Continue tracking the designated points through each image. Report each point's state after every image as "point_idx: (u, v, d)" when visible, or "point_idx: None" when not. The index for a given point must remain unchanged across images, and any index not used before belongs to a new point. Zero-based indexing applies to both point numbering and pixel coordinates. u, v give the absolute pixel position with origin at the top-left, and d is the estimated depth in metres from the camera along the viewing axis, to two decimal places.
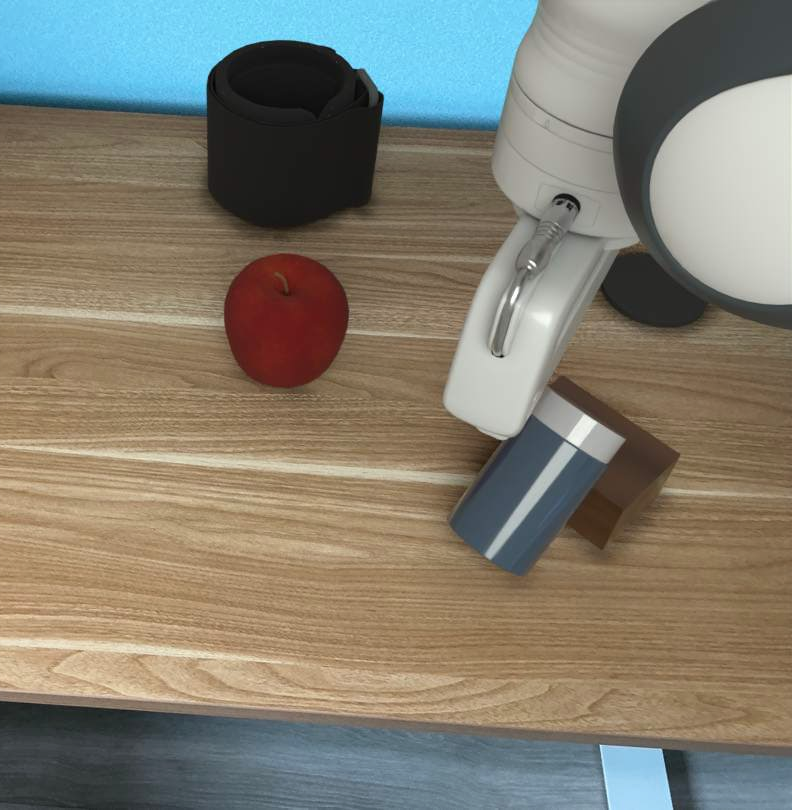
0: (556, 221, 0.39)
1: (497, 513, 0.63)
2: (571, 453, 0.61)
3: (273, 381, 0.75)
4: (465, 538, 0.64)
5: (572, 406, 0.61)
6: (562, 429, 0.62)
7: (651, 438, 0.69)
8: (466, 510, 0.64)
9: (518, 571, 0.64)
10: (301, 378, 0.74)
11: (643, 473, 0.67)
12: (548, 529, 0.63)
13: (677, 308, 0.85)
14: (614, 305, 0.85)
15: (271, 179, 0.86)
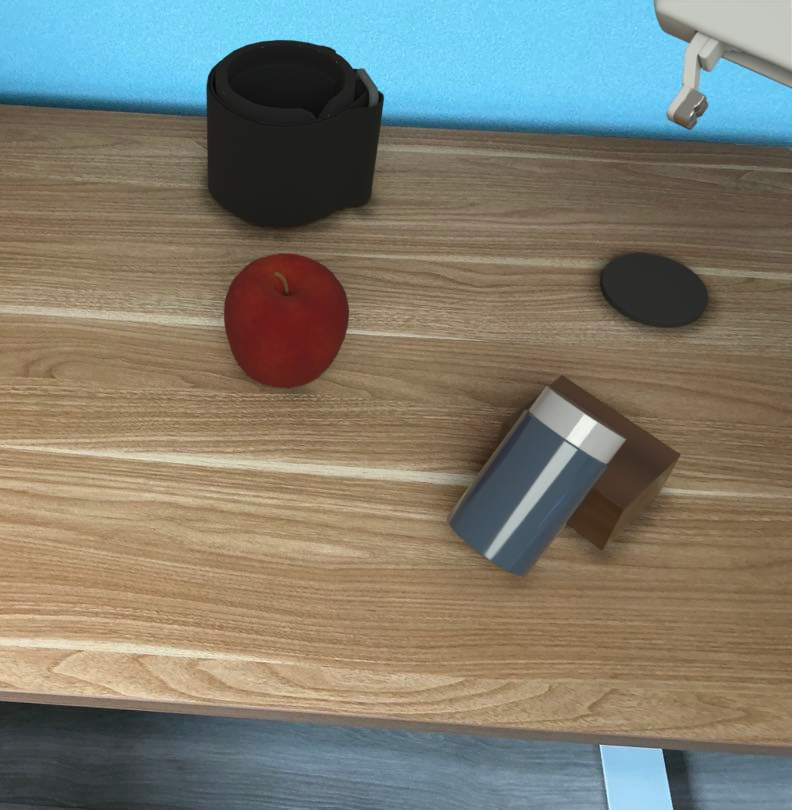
0: None
1: (497, 513, 0.63)
2: (571, 453, 0.61)
3: (273, 381, 0.75)
4: (465, 538, 0.64)
5: (572, 406, 0.61)
6: (562, 429, 0.62)
7: (651, 438, 0.69)
8: (466, 510, 0.64)
9: (518, 571, 0.64)
10: (302, 378, 0.74)
11: (643, 473, 0.67)
12: (548, 529, 0.63)
13: (677, 308, 0.85)
14: (614, 305, 0.85)
15: (271, 179, 0.86)
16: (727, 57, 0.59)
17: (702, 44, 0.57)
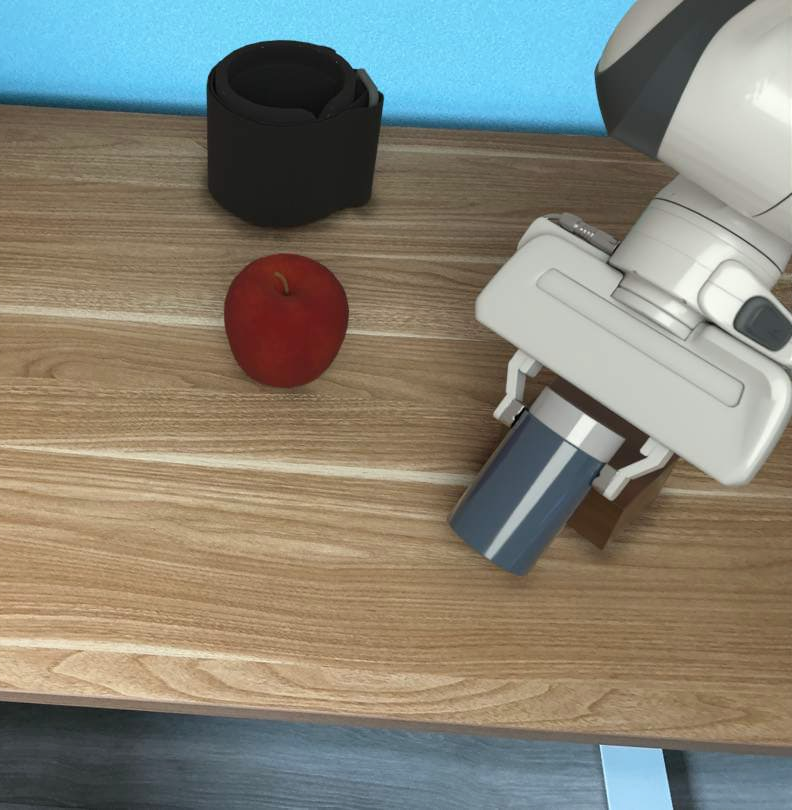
0: (601, 231, 0.64)
1: (497, 513, 0.63)
2: (570, 452, 0.61)
3: (273, 381, 0.75)
4: (465, 538, 0.64)
5: (572, 406, 0.61)
6: (562, 429, 0.62)
7: None
8: (466, 510, 0.64)
9: (518, 571, 0.64)
10: (302, 378, 0.74)
11: None
12: (547, 528, 0.63)
13: None
14: None
15: (271, 179, 0.86)
16: None
17: (522, 360, 0.65)
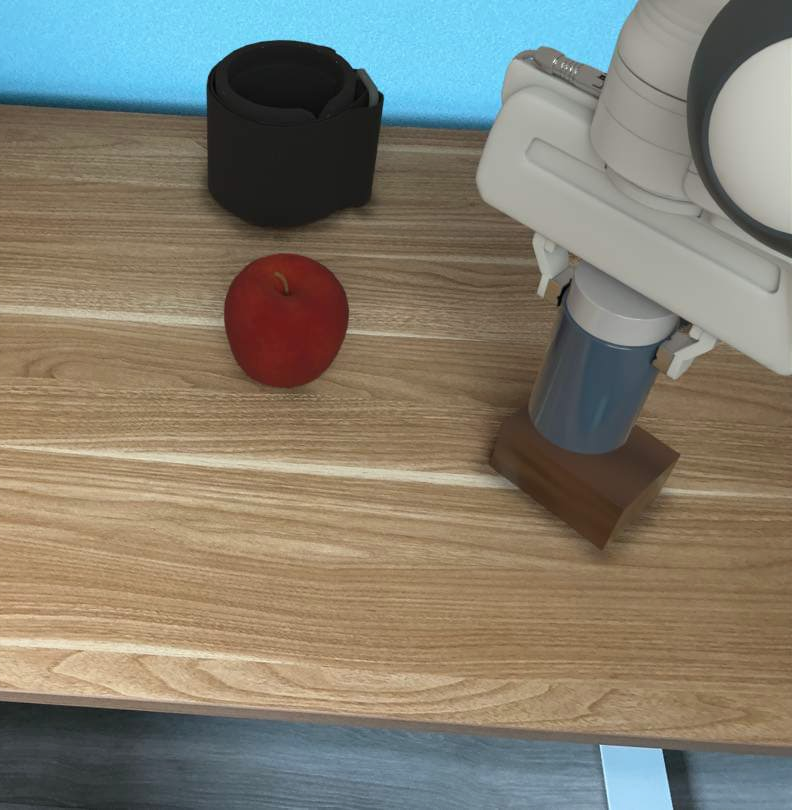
0: (584, 66, 0.49)
1: (561, 411, 0.59)
2: (610, 352, 0.54)
3: (273, 381, 0.75)
4: (542, 432, 0.61)
5: (596, 305, 0.53)
6: (594, 330, 0.54)
7: (651, 438, 0.69)
8: (536, 404, 0.61)
9: (608, 449, 0.60)
10: (302, 378, 0.74)
11: (643, 473, 0.67)
12: (621, 413, 0.57)
13: None
14: None
15: (271, 179, 0.86)
16: None
17: (544, 239, 0.55)
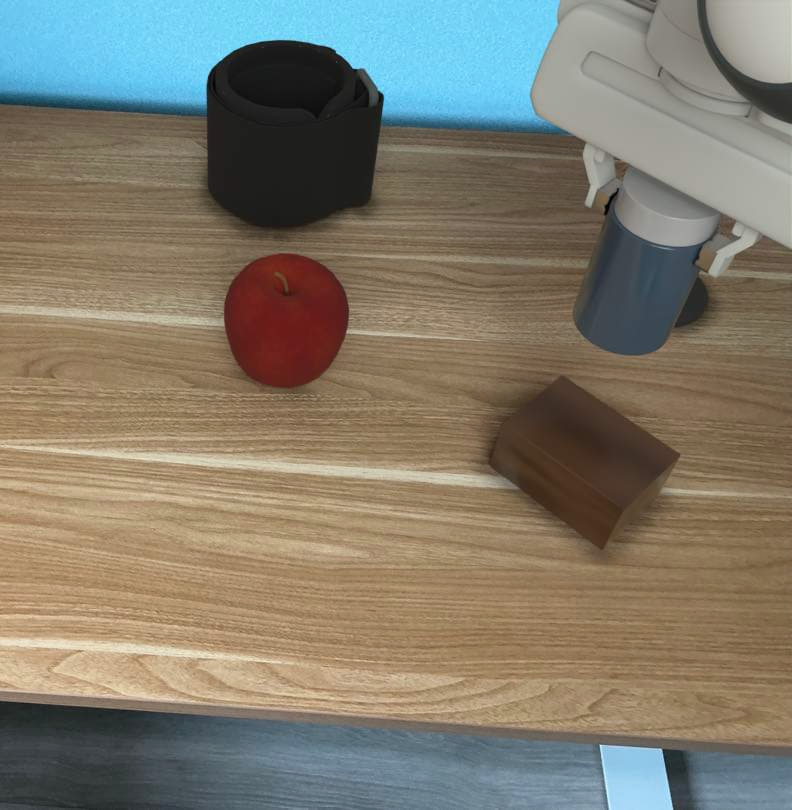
0: None
1: (606, 314, 0.63)
2: (656, 253, 0.58)
3: (273, 381, 0.75)
4: (586, 337, 0.66)
5: (644, 208, 0.57)
6: (642, 232, 0.58)
7: (651, 438, 0.69)
8: (582, 310, 0.65)
9: (649, 351, 0.65)
10: (302, 378, 0.74)
11: (643, 473, 0.67)
12: (663, 314, 0.62)
13: None
14: None
15: (271, 179, 0.86)
16: None
17: (594, 150, 0.60)
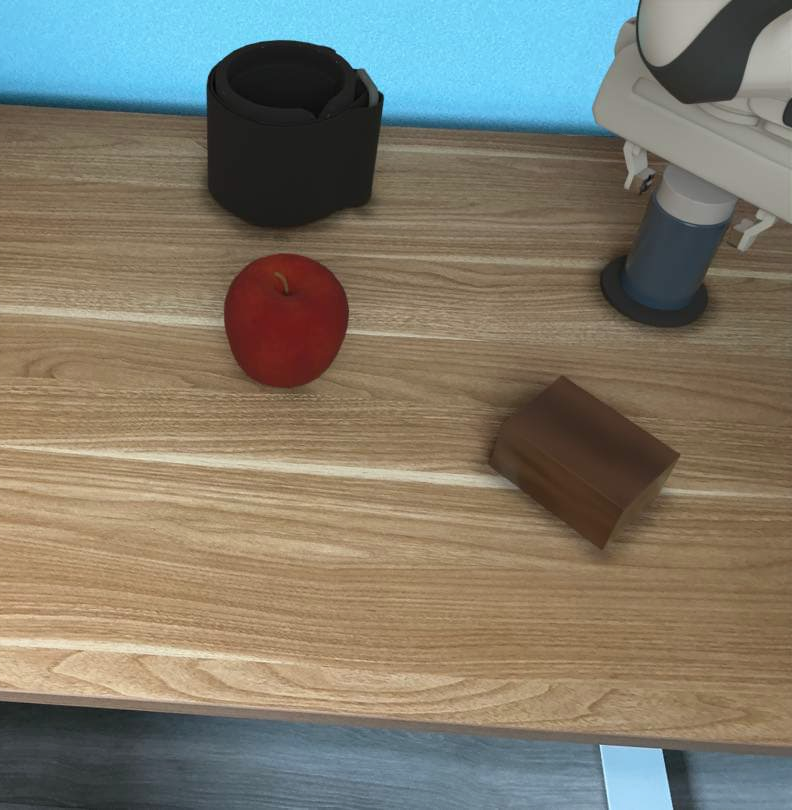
0: None
1: (647, 278, 0.83)
2: (688, 229, 0.78)
3: (273, 381, 0.75)
4: (631, 296, 0.85)
5: (680, 195, 0.77)
6: (677, 214, 0.78)
7: (651, 438, 0.69)
8: (628, 275, 0.85)
9: (679, 307, 0.84)
10: (301, 378, 0.74)
11: (643, 473, 0.67)
12: (691, 277, 0.82)
13: None
14: (614, 305, 0.85)
15: (271, 179, 0.86)
16: None
17: (632, 145, 0.80)
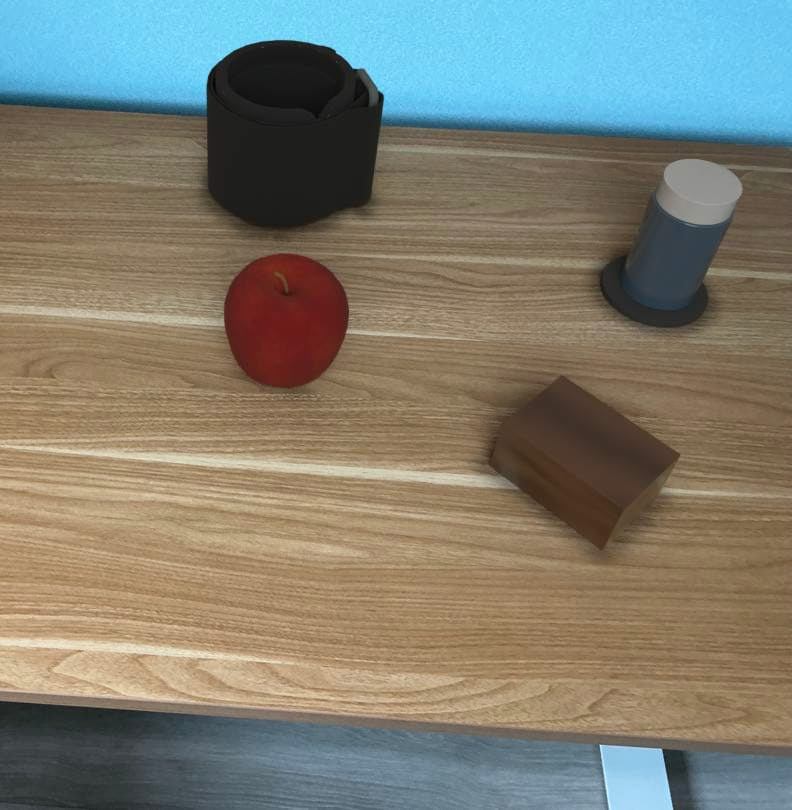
0: None
1: (647, 278, 0.83)
2: (688, 229, 0.78)
3: (273, 381, 0.75)
4: (631, 296, 0.85)
5: (680, 195, 0.77)
6: (677, 214, 0.78)
7: (651, 438, 0.69)
8: (628, 275, 0.85)
9: (679, 307, 0.84)
10: (301, 378, 0.74)
11: (643, 473, 0.67)
12: (691, 277, 0.82)
13: None
14: (614, 305, 0.85)
15: (271, 179, 0.86)
16: None
17: None
